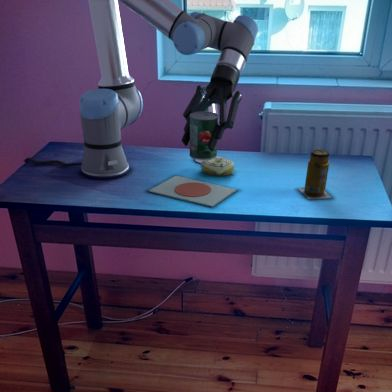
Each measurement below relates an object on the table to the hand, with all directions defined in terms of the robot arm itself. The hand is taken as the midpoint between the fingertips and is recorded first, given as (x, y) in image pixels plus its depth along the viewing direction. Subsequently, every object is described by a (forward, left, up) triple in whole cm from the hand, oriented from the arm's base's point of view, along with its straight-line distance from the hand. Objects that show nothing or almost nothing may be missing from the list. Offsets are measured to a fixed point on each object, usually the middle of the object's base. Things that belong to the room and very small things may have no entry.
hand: (197, 145), depth 148 cm
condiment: (+29, +20, -15) cm, 38 cm away
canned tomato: (0, +3, -4) cm, 5 cm away
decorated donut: (-5, +21, -15) cm, 26 cm away
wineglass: (-14, +29, -15) cm, 35 cm away
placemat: (-3, +2, -14) cm, 15 cm away
